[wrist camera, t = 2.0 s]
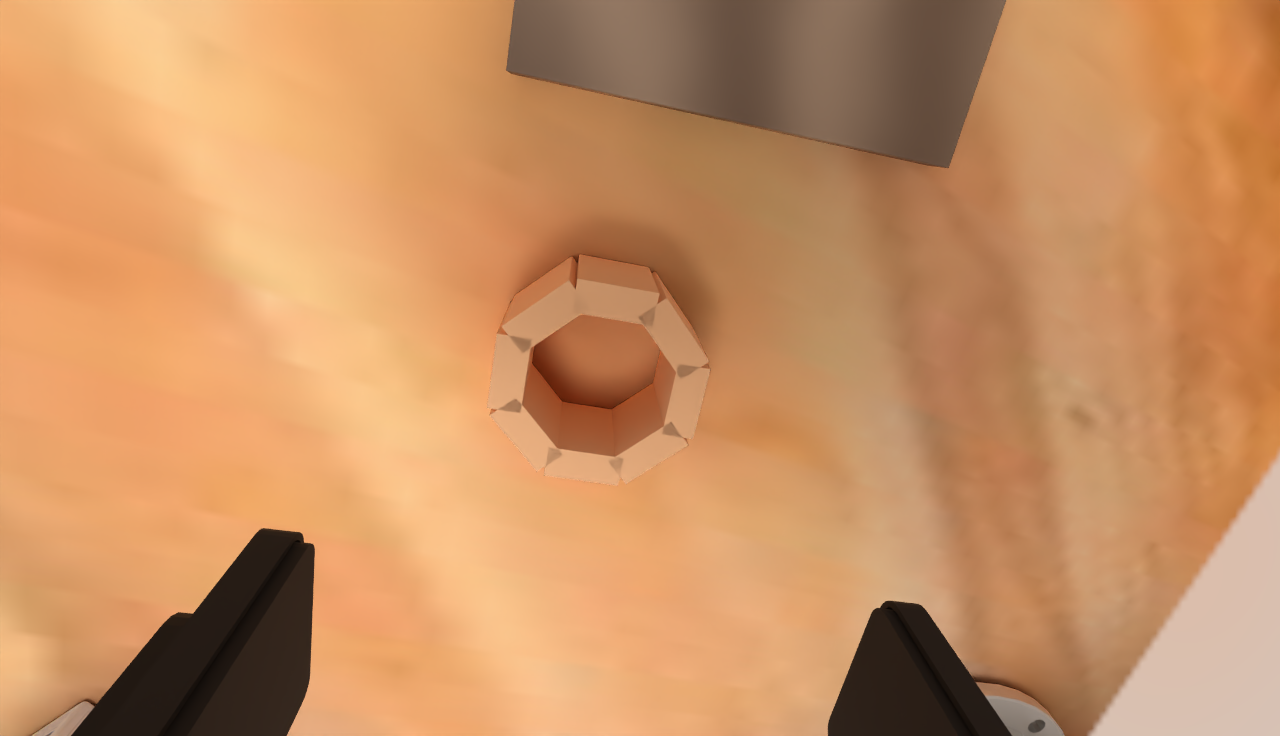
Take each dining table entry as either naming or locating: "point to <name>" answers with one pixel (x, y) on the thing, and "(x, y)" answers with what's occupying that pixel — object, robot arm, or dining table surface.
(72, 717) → the light bulb box
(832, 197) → the dining table surface
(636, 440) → the ring
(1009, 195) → the dining table surface
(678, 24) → the post base
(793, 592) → the dining table surface
